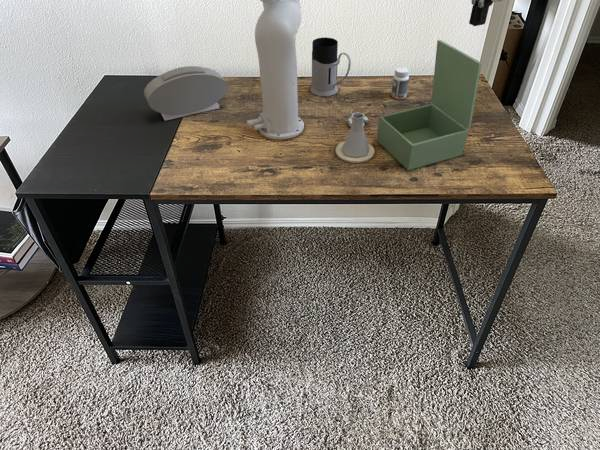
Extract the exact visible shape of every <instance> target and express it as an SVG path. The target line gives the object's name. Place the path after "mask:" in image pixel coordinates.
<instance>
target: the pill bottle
mask: <svg viewBox="0 0 600 450" xmlns="http://www.w3.org/2000/svg"><path fill="white" fill-rule="evenodd" d="M409 73H410V69H409V68H408V67H404V66H398V67H395V69H394V75H393V76H392V85H391V92H390V96H391V97H392V98H394V99H397V100H403V99H406V98H407V97H408V89H409V81H410V75H409Z"/></svg>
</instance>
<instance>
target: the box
mask: <svg viewBox="0 0 600 450" xmlns="http://www.w3.org/2000/svg"><path fill="white" fill-rule="evenodd" d="M468 134H469V129H467V128H465V127H464V126H462V125H461V124H460V123H458V122H457V121H456V120H454V119H453V118H451V117H450V116H449V115H447V114H446V113H445V112H443V111H442V110H440V109H439V108H438V107H436V106H435V105H434V104H432V103H430V104H426V105H422V106H417V107H413V108H409V109H405V110H401V111H396V112H393V113H388V114H384V115H380V116H379V117H378V125H377V133H376V142H378V143H379V145H381V146H382V147H383V148H384V149H385V150H386V151H387V152H388V153H389V154H390V155H391V156H392V157H393V158H395V160H396V161H398V163H400V164H401V165H402V166H403V167H404V168H405V170H407V171H411V170H414V169H415V170H416V169H419V168H421V167H425V166H428V165H432V164H435V163H439V162H443V161H446V160H450V159H454V158H457V157H461V156H463V153H464V149H465V147H466V142H467V140H468Z"/></svg>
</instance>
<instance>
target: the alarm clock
mask: <svg viewBox="0 0 600 450" xmlns="http://www.w3.org/2000/svg"><path fill="white" fill-rule="evenodd" d="M228 85H229V84H228V83H227V81H226V80H225V79H224V77H223V76H222V75H221V74H220V73H219V72H218V71H216V70H215V69H212V68H209V67H203V66H197V65H195V66H194V65H188V66H181V67H177V68H173V69H170V70H168V71H166V72H164V73H162V74H159V75H157V76H156V77H154V78H153V79H152V80H151V81H150V82H148V83H147V84H146V86H145V88H144V90H143V96H144V98H145V100H146V101H147V104H148V106H149V107H150V109H152V110H153V111H155V113H156V112H157V113H159V114H160V115H161V117H162V118H163V120H164V121H169V120H174V119H178V118H182V117H186V116H191V115H196V114H200V113H203V112H204V113H205V112H209V111H213V110H217V109H220V108H221V107H220V104H219V103H218V102H220V101H221V100H222V99H223V98H224V97H225V96H226V94H227V93H228V90H229V86H228Z"/></svg>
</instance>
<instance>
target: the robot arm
mask: <svg viewBox="0 0 600 450" xmlns="http://www.w3.org/2000/svg"><path fill="white" fill-rule="evenodd" d="M259 1H260V2H262V7H263V11H262V12H261V13H260V15H259V17H258V19H257V21H256V24H255V28H254V42H255V47H256V52H257V58H258V66H259V67H258V68H259V69H258V70H259V77H260V78H259V79H260V90H261V91H260V92H261V101H262V112H260V113H259V116H257V118H255V119H253V118H252V119H249V120H248V119H247V120H246V126H247V128H248V129H249V128H253V129H254V130H255V131H257V130H258V132H259V133H260V134H261V135H262V136H264V137H265V138H268V139H271V140H275V141H276V140H277V141H281V140H291V139H293V138H295V137H298V136H299V135H301V134H302V133H303V132H304V129H305V123H304V121H303V120H302V119H301V118H300V117H299V92H298V90H299V89H298V60H297V48H296V39H297V33H298V30H299V28H300V25H301V22H302V9H301V7H302V6H301V0H259ZM470 1H471V5H472V7H471V12H470V17H469V21H468V24H469V25H471V26H473V27H477V26H478V27H479V26H482V25H485V24H486V22H487V18H488V13H489V9H490V7H492V6H493V3H494V2H495V3H496V2H497V3H498V2H503V1H504V0H470Z"/></svg>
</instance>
